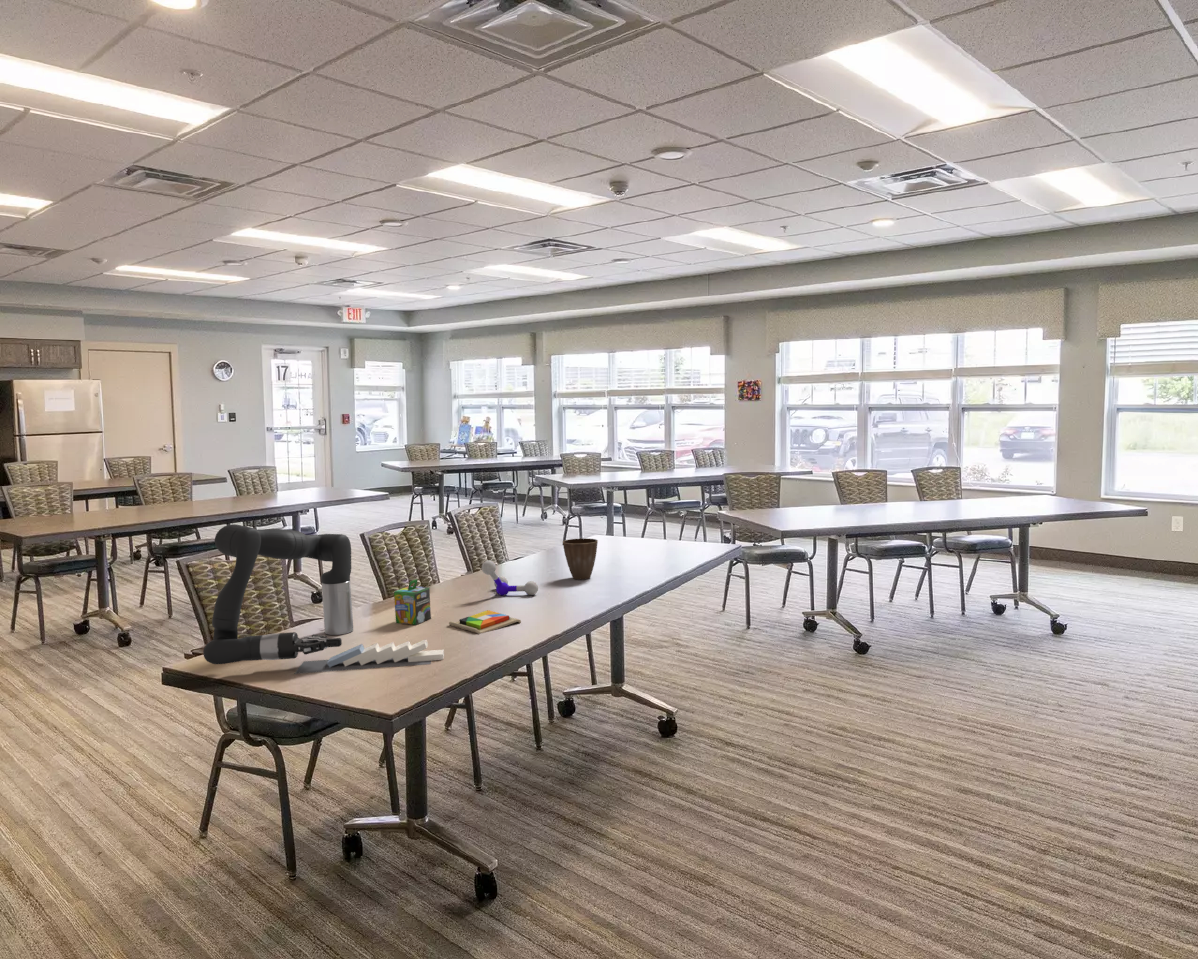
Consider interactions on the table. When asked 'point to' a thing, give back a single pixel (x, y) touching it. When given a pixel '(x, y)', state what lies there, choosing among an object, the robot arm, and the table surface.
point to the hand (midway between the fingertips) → (341, 642)
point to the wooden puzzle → (484, 622)
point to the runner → (353, 665)
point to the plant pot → (580, 556)
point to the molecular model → (502, 582)
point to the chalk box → (412, 604)
